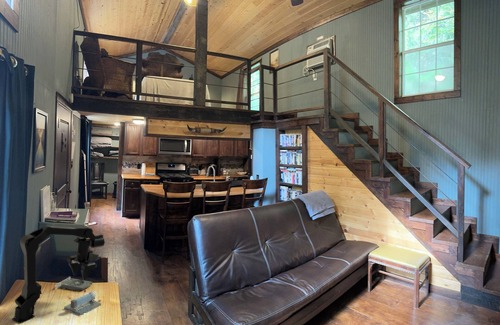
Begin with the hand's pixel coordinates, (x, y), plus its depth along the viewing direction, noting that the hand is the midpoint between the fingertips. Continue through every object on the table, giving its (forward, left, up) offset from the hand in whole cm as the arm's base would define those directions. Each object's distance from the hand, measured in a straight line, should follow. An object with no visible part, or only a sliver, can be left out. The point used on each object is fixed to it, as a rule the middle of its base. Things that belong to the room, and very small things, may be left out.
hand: (79, 277), depth 155 cm
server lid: (-3, -8, -13) cm, 15 cm away
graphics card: (+9, +16, -13) cm, 23 cm away
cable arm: (-3, -8, -10) cm, 13 cm away
